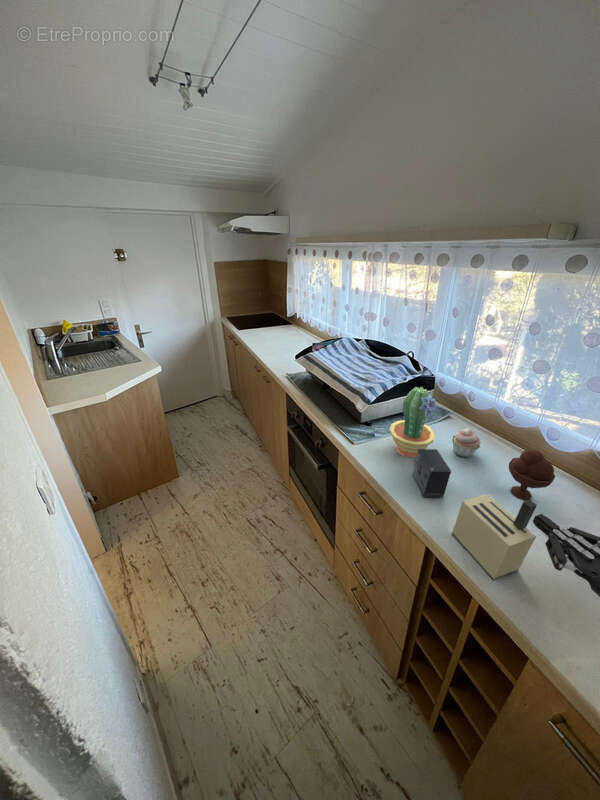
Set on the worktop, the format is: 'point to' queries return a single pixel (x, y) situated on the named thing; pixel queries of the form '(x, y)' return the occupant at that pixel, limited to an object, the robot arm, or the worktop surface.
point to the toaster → (491, 536)
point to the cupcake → (465, 443)
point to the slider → (524, 514)
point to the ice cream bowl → (530, 473)
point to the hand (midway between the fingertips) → (536, 517)
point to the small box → (431, 473)
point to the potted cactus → (414, 423)
